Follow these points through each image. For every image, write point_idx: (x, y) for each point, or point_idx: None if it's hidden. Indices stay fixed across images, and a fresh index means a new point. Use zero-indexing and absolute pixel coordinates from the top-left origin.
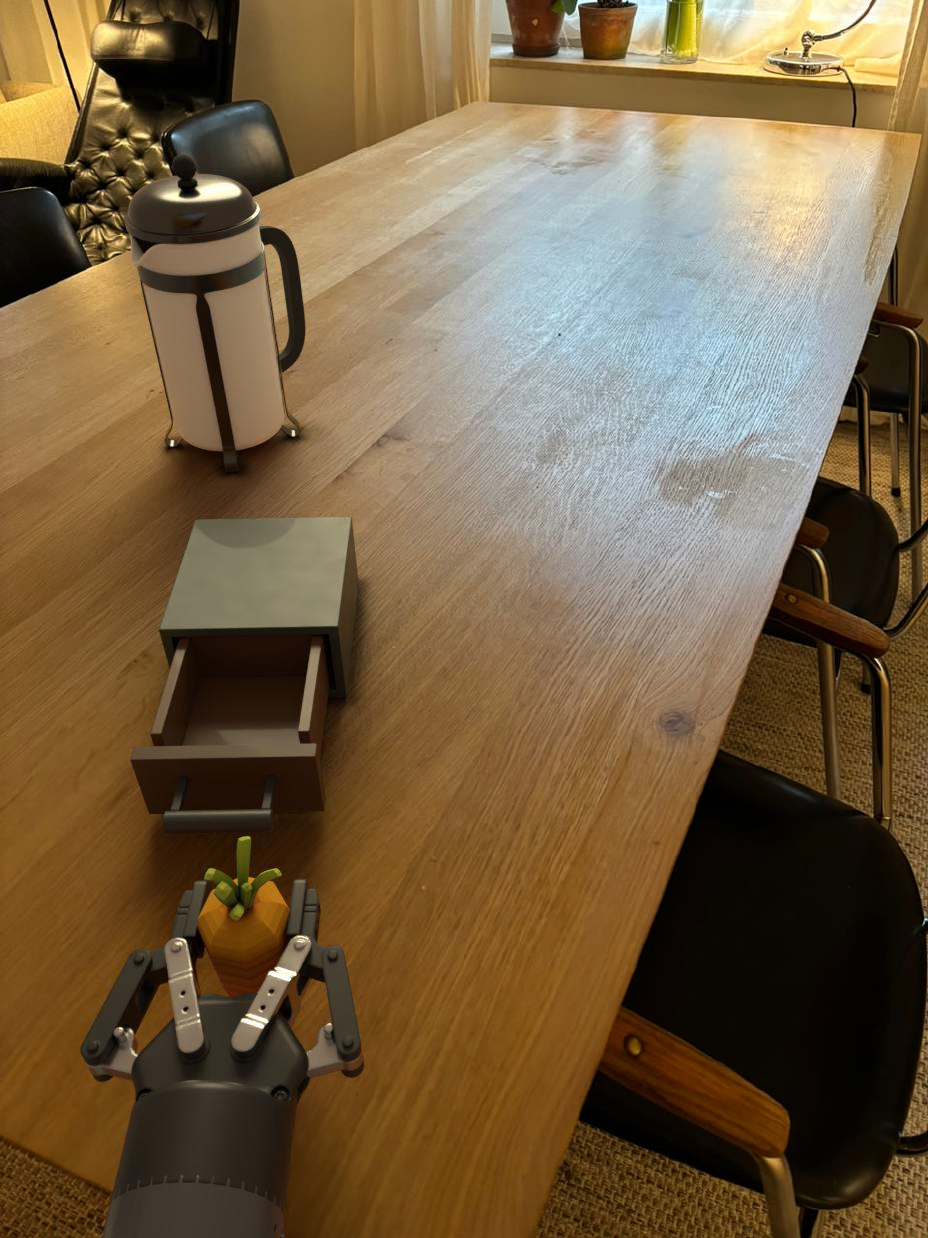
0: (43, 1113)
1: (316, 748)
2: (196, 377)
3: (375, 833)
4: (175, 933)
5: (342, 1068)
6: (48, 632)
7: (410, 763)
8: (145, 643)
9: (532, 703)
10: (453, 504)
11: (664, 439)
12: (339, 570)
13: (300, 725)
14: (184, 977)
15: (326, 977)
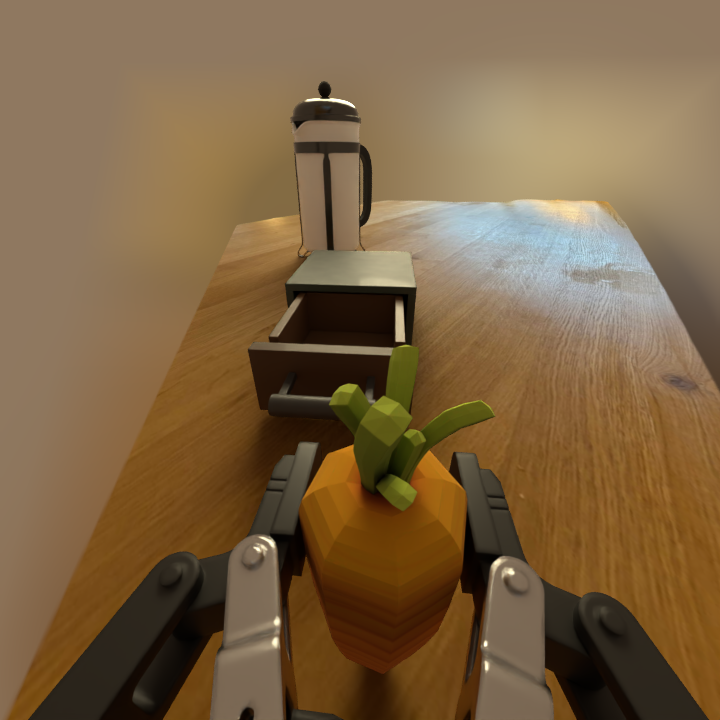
0: None
1: None
2: (318, 207)
3: (456, 441)
4: (258, 524)
5: None
6: (218, 313)
7: (470, 393)
8: (275, 320)
9: (551, 363)
10: (453, 278)
11: (560, 263)
12: (409, 267)
13: (396, 338)
14: (258, 653)
15: (632, 697)
